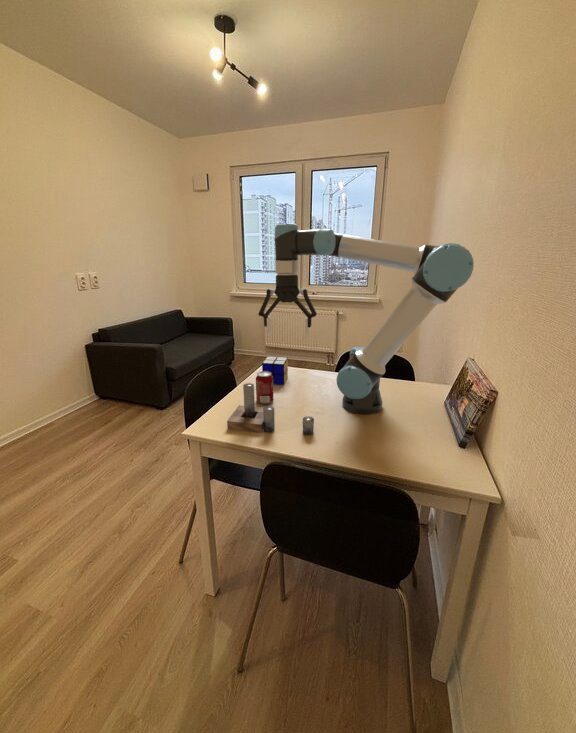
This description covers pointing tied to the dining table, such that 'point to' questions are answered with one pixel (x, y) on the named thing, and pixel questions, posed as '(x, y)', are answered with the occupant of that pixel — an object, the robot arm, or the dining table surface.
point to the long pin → (249, 400)
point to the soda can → (264, 387)
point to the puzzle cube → (276, 369)
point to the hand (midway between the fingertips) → (287, 336)
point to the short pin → (308, 425)
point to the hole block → (246, 420)
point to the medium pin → (269, 419)
